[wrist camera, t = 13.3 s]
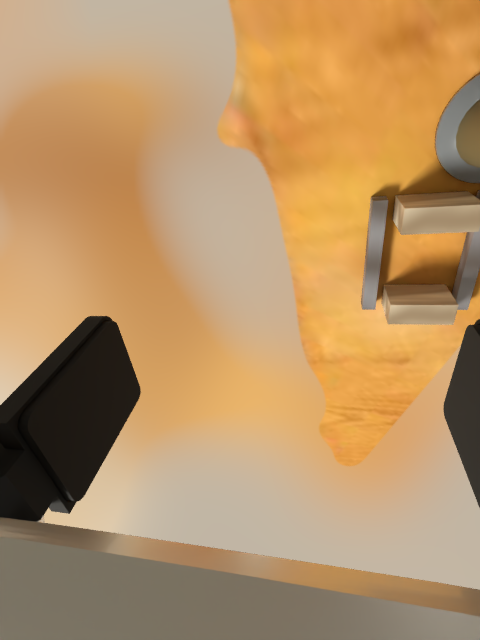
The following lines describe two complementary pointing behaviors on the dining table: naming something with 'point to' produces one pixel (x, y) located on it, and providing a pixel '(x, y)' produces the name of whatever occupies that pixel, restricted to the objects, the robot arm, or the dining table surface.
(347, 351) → the dining table surface
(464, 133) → the pepper mill
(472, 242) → the grey and cream frame
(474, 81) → the coaster
